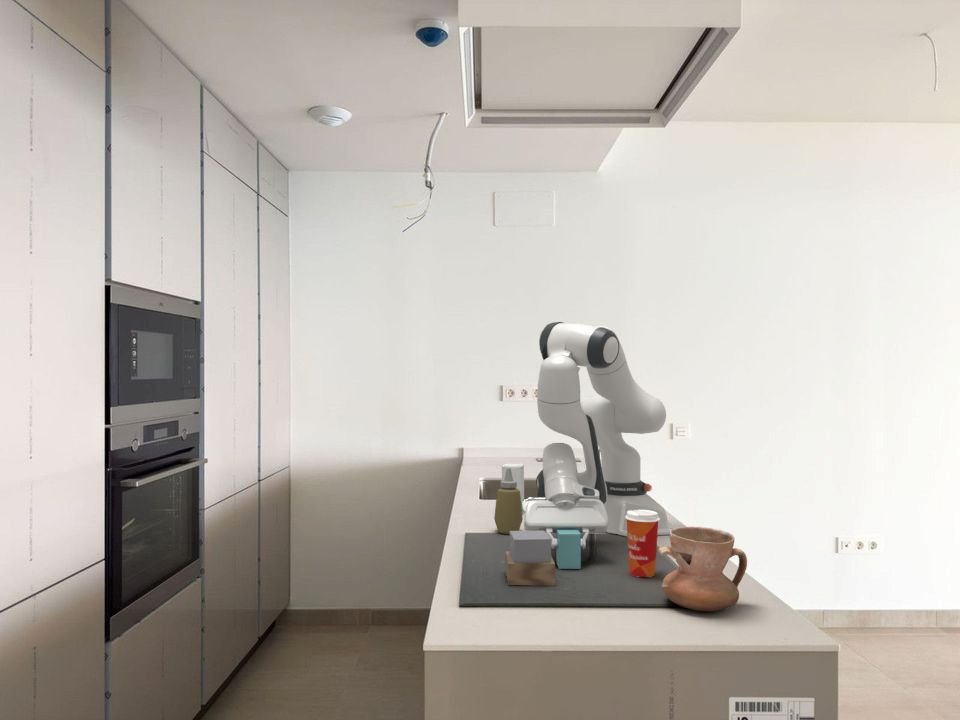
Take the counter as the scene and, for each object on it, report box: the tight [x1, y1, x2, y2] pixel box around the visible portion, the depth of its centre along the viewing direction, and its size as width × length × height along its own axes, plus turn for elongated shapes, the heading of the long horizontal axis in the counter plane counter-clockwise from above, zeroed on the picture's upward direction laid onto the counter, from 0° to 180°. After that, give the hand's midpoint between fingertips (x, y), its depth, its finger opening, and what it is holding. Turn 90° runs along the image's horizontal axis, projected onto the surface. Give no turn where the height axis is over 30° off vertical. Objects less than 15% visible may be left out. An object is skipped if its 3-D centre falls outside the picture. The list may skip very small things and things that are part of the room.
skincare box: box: [501, 463, 525, 514], centre depth 222 cm, size 8×7×16 cm
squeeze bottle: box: [494, 468, 523, 535], centre depth 196 cm, size 8×8×18 cm
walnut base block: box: [504, 550, 556, 587], centre depth 152 cm, size 10×10×5 cm
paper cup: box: [625, 510, 660, 578], centre depth 156 cm, size 8×8×14 cm
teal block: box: [555, 529, 582, 570], centre depth 162 cm, size 5×5×8 cm
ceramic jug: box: [658, 525, 748, 612], centre depth 136 cm, size 18×14×14 cm
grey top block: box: [509, 530, 552, 563], centre depth 152 cm, size 8×8×5 cm
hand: (568, 547), depth 161 cm, fingers closed on teal block, 5 cm apart
